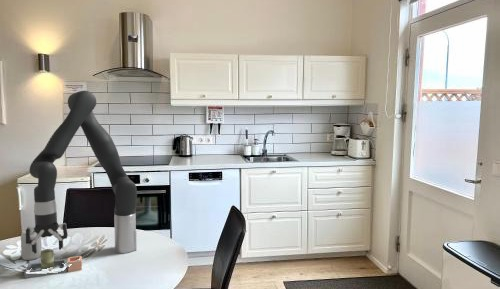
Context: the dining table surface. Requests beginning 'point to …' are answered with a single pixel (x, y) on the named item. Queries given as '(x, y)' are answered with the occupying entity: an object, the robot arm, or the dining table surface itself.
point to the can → (30, 247)
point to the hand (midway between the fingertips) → (48, 250)
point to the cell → (47, 258)
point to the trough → (38, 265)
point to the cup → (75, 263)
